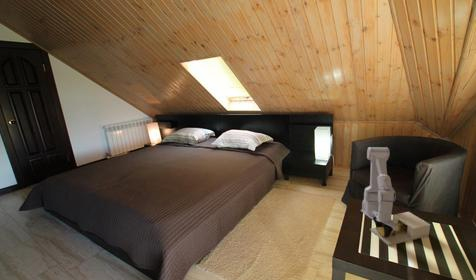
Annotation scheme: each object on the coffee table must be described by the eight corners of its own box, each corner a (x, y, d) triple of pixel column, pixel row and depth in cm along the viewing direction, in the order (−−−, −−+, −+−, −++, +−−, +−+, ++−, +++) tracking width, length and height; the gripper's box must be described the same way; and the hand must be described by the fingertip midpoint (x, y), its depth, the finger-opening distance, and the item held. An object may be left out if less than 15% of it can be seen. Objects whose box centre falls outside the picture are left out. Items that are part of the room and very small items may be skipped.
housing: (370, 230, 120) (371, 219, 118) (407, 222, 124) (408, 211, 122) (388, 245, 109) (389, 233, 107) (428, 236, 112) (430, 224, 111)
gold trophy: (375, 231, 117) (376, 224, 116) (398, 226, 119) (398, 219, 118) (384, 238, 112) (385, 231, 110) (407, 233, 114) (408, 226, 113)
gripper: (367, 205, 117) (365, 226, 121) (390, 220, 103) (387, 244, 107) (378, 202, 118) (376, 224, 122) (402, 218, 104) (399, 241, 108)
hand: (382, 233), depth 114 cm, fingers closed on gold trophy, 4 cm apart
